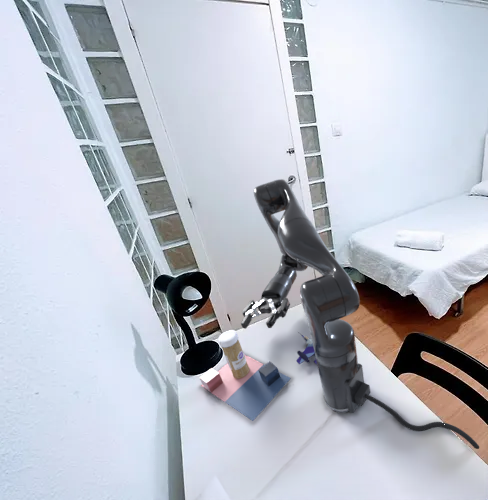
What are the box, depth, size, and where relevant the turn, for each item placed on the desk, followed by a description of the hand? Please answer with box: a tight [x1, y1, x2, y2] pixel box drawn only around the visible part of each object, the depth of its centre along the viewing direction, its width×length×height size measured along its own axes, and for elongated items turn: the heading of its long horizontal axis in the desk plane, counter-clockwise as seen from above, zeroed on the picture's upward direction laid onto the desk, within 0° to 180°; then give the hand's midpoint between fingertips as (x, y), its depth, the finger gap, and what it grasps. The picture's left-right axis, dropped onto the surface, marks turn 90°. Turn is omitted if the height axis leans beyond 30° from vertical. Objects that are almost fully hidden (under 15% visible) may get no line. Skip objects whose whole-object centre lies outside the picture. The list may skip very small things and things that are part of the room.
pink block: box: [199, 367, 223, 393], centre depth 74 cm, size 4×4×4 cm
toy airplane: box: [295, 331, 317, 365], centre depth 81 cm, size 13×14×4 cm
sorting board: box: [200, 353, 291, 422], centre depth 74 cm, size 21×13×1 cm, turn 58°
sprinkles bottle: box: [218, 329, 249, 379], centre depth 74 cm, size 5×5×14 cm
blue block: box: [258, 360, 280, 386], centre depth 73 cm, size 4×4×4 cm
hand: (255, 326), depth 81 cm, fingers open, 8 cm apart
